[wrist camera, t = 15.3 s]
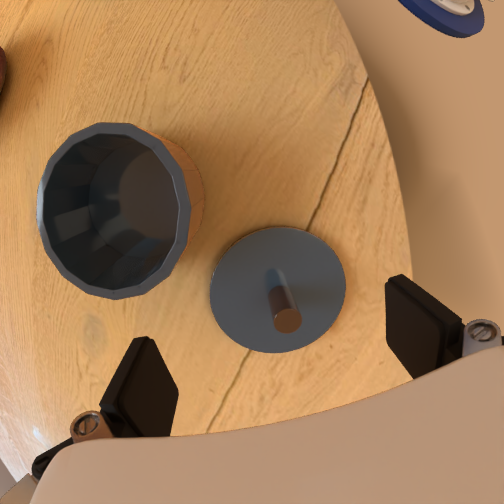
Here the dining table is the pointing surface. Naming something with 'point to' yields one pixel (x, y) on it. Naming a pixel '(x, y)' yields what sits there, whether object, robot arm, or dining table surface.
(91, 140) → the canister
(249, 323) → the lid
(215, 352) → the dining table surface
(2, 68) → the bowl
